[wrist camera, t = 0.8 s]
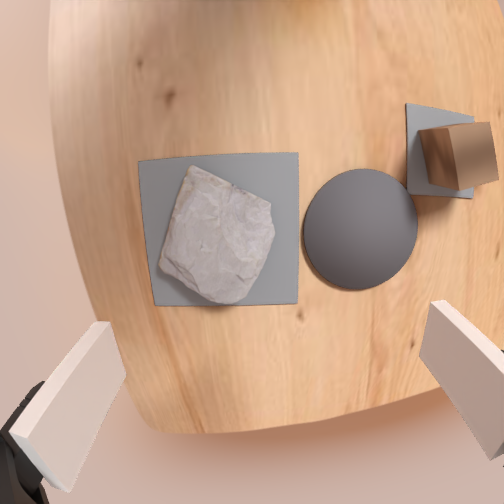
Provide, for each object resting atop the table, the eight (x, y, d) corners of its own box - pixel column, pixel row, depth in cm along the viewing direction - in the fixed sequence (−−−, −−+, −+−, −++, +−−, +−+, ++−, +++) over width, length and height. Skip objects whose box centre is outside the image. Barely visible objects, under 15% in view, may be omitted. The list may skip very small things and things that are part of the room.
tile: (405, 103, 27) (406, 103, 27) (473, 116, 27) (474, 116, 27) (406, 194, 30) (407, 194, 30) (472, 198, 30) (473, 198, 30)
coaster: (303, 167, 30) (304, 167, 29) (418, 172, 30) (421, 172, 29) (302, 289, 34) (303, 292, 33) (408, 283, 34) (410, 285, 33)
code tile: (138, 161, 30) (138, 161, 29) (298, 152, 29) (298, 152, 29) (155, 304, 34) (155, 305, 34) (297, 302, 34) (297, 303, 34)
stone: (289, 203, 31) (294, 209, 27) (243, 303, 34) (242, 319, 30) (193, 163, 29) (185, 164, 26) (156, 268, 33) (145, 280, 29)
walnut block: (417, 130, 28) (448, 128, 22) (457, 123, 28) (489, 121, 22) (428, 183, 30) (459, 191, 24) (466, 173, 29) (498, 179, 24)
